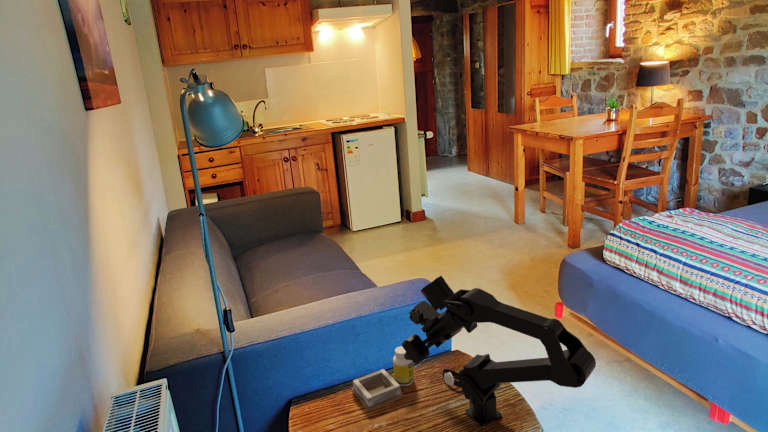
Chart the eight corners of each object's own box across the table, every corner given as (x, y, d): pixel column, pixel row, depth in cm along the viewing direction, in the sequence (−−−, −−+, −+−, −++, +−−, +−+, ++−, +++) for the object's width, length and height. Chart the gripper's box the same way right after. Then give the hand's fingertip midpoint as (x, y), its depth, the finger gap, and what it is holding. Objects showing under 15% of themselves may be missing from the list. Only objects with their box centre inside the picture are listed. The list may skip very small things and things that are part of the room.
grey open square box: (402, 397, 130) (401, 385, 129) (368, 411, 125) (367, 399, 125) (384, 378, 138) (383, 367, 137) (352, 391, 134) (351, 380, 133)
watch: (438, 379, 136) (437, 367, 135) (451, 372, 139) (450, 361, 138) (456, 392, 130) (456, 380, 129) (470, 385, 133) (469, 373, 132)
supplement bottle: (412, 387, 134) (410, 355, 131) (393, 386, 135) (390, 354, 132) (415, 375, 139) (413, 344, 136) (396, 375, 140) (393, 344, 137)
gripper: (450, 283, 129) (419, 311, 139) (405, 311, 116) (374, 340, 126) (477, 318, 126) (443, 343, 136) (434, 351, 113) (400, 377, 123)
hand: (416, 349), depth 130 cm, fingers open, 9 cm apart
